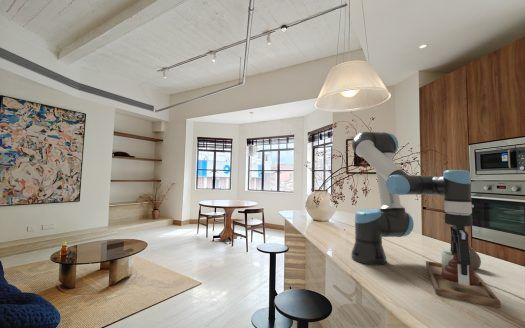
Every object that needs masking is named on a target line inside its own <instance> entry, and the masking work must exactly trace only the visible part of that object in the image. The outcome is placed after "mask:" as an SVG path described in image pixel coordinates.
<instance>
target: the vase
mask: <svg viewBox="0 0 525 328" xmlns="http://www.w3.org/2000/svg"><path fill="white" fill-rule="evenodd" d="M469 253H470V262H471V265H470V267H471V268H472V269H473V270H474V271H475V270H478V269H479V268H480V267H481V265H482V259H481V257H480V255H479V254H478V253H477V251H476V250H475V248H473V247H471V246H469ZM465 261H466V260H465Z"/></svg>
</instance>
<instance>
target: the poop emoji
mask: <svg viewBox="0 0 525 328" xmlns="http://www.w3.org/2000/svg"><path fill="white" fill-rule="evenodd" d="M456 261H457V262H458V253H454V256H453V259H451V260H449V262H448V265H446V266H445V269H443V270H442V272H441V274H442V276H443V278H445V279H446V280H449V281H452V282H458V264H456ZM474 271H475V270H473V269H472V268H471V267H470V265H469V285H470V286H475V285H477V284H478V283H479V279H478V278H477V276H475V275H474V274H475V272H476V271H475V272H474Z"/></svg>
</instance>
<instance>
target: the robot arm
mask: <svg viewBox="0 0 525 328" xmlns="http://www.w3.org/2000/svg"><path fill="white" fill-rule="evenodd" d="M351 148H352V151H353V152H354V154H356V155H357V156H358V157H360V158H362V159H364V160H365V161H366V162H367V163H368V164H369V166H371V168H373V169H374V170H375V174H376V181H377V187H378V193H379V199H380V204H381V205H380V207H379V208H378V209H376V208H372V209H371V208H369V209H368V208H365V209H360V210H358V211H356V213H355V216H354V217H355V218H354V223H355V225H354V227H355V228H354V229H355V232H354V233H355V234H354V235H355V239H354V240H355V241H354V244H353V247H352V251H351V259H352V260H354V261H355V262H358V263H361V264H366V265H375V266H376V265H377V266H381V265H385V264H386V263H387V255H386V253H385V249H384V245H383V238H391V237H392V238H394V237H396V238H402V237H407V236H409V235H410V234H411V232H412V231H413V230H414V227H415V226H414V219H413V216H411V214H410V213H408V212H407V211H406V208H405V207H404V206H403V205H402V204H401V199H400V196H404V195H405V196H406V195H407V196H409V195H412V196H413V195H419V196H423V195H424V196H443V198H444V199H443V200H444V202H443V206H444V207H443V208H444V212H445V214H444V223H445V224H446V225H450V227H449V228H450V249H449V250H450V251H451V252H452V253H451V254H452V255H453V256H454V253H458V262H457V261H456V264H458V283H459V284H463V285H468V286H469V265H471V262H470V253H469V247H470V244H469V242H470V241H469V233H468V231H466V227H473V225H474V224H473V222H474V221H473V216H472V213H473V208H474V207H475V205H474V204H472V202H473V201H472V180H471V179H472V177H471V173H470V171H469V170H465V169H447V170H444V171H443V175H412V174H411V175H409V174H408V173H407V172H405V171H404V169H402V168H401V167H399V166H398V165H397V164H396V163H395V162H394V161H393V160H394V157H395V156H396V153H397V151H398V148H399V141H398V138H397V137H396V135H394V134H392V133H390V132H377V131H375V132H374V131H362V132H360V133H357V134H356V135H355V137H354V138H353V140H352V142H351ZM453 256H452V259H453ZM465 260H466V261H465Z"/></svg>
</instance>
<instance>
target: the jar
mask: <svg viewBox="0 0 525 328" xmlns="http://www.w3.org/2000/svg"><path fill="white" fill-rule="evenodd" d="M450 250H451V249H448V248H447V249H443V251H441V252H440V254H441V257H440V258H441V261H440V263H442V270H443V269H445V266H446V265H448V262H449V260H451V259H452V256H453V255H452V254H451V253H452V252H451V251H450Z"/></svg>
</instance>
